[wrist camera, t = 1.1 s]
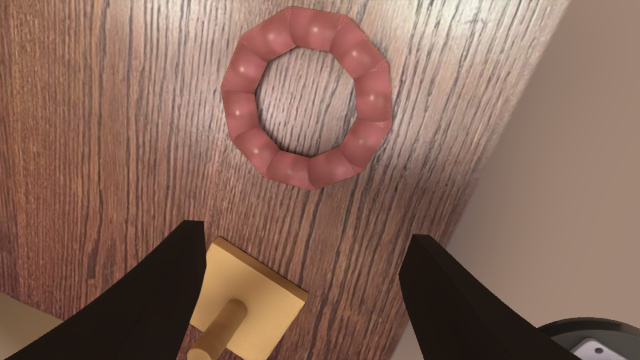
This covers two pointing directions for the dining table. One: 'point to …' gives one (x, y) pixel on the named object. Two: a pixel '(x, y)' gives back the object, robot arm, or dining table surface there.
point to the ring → (354, 57)
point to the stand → (242, 306)
